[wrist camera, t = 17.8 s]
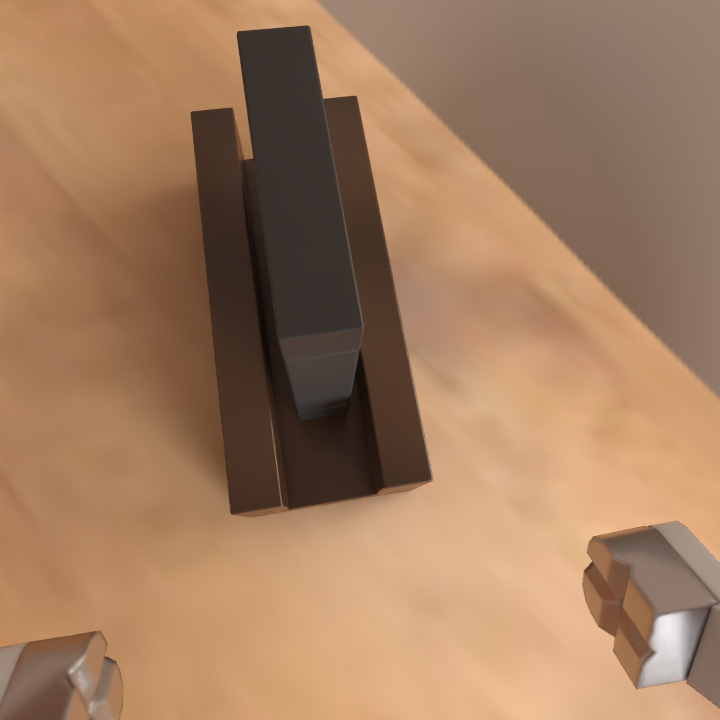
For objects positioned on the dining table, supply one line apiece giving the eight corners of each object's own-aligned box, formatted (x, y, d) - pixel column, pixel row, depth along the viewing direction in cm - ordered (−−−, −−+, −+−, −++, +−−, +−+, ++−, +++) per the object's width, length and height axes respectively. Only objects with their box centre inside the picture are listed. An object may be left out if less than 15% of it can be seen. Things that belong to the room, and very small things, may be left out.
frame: (348, 413, 20) (364, 328, 12) (298, 421, 20) (277, 340, 12) (316, 217, 22) (310, 23, 14) (270, 222, 22) (235, 30, 14)
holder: (413, 489, 21) (434, 480, 17) (248, 517, 20) (230, 514, 16) (352, 162, 24) (356, 94, 21) (211, 177, 24) (190, 110, 20)
